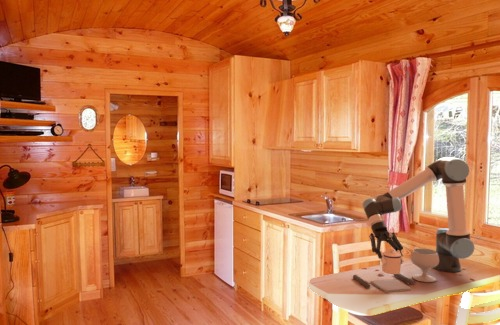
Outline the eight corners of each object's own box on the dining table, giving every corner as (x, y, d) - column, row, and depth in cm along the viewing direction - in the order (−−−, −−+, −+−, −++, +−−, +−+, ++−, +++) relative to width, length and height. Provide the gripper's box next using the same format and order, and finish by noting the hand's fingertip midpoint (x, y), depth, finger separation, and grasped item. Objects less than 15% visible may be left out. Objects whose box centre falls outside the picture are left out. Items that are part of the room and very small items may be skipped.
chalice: (406, 279, 220) (406, 251, 219) (415, 273, 231) (416, 246, 230) (433, 285, 211) (434, 256, 210) (442, 278, 221) (443, 251, 220)
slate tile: (394, 280, 217) (394, 278, 217) (410, 290, 204) (410, 288, 204) (370, 282, 214) (370, 280, 214) (385, 292, 201) (385, 290, 201)
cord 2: (393, 276, 226) (393, 271, 225) (397, 275, 226) (397, 271, 226) (410, 285, 211) (410, 281, 211) (414, 285, 211) (414, 280, 211)
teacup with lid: (404, 273, 205) (405, 250, 204) (389, 275, 201) (390, 251, 201) (388, 266, 216) (389, 244, 215) (374, 268, 213) (374, 245, 212)
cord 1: (352, 279, 220) (352, 274, 220) (356, 278, 221) (357, 274, 221) (366, 289, 206) (366, 284, 205) (371, 288, 206) (371, 284, 206)
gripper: (393, 228, 225) (409, 265, 210) (356, 229, 220) (370, 268, 206) (399, 220, 220) (416, 258, 205) (361, 221, 215) (376, 260, 200)
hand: (393, 263), depth 205 cm, fingers closed on teacup with lid, 9 cm apart
